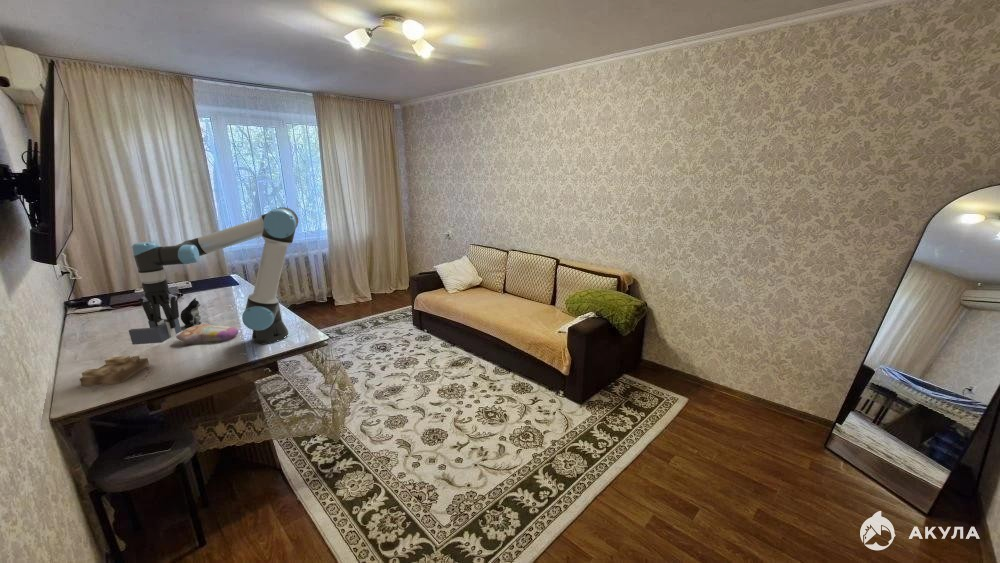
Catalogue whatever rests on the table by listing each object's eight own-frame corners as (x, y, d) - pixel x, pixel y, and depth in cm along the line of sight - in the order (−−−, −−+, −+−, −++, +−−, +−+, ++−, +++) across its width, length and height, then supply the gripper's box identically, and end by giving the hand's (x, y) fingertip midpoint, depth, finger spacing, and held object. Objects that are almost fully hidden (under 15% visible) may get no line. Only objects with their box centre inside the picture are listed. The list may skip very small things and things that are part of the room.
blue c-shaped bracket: (181, 331, 163) (178, 318, 161) (161, 342, 151) (158, 328, 150) (154, 333, 161) (150, 319, 160) (132, 344, 150) (128, 330, 148)
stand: (149, 364, 159) (146, 353, 158) (120, 382, 145) (117, 371, 143) (114, 367, 157) (110, 356, 156) (81, 386, 143) (77, 374, 141)
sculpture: (245, 331, 198) (186, 336, 189) (243, 319, 197) (185, 323, 188) (234, 341, 182) (170, 346, 173) (233, 328, 181) (168, 333, 172)
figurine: (202, 328, 198) (195, 301, 194) (178, 331, 194) (171, 303, 190) (207, 322, 206) (201, 296, 202) (185, 325, 203) (179, 298, 199)
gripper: (181, 277, 155) (194, 331, 161) (139, 279, 153) (154, 333, 159) (169, 282, 148) (183, 338, 154) (124, 284, 146) (140, 341, 152)
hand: (168, 335), depth 157 cm, fingers closed on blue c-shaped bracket, 2 cm apart
